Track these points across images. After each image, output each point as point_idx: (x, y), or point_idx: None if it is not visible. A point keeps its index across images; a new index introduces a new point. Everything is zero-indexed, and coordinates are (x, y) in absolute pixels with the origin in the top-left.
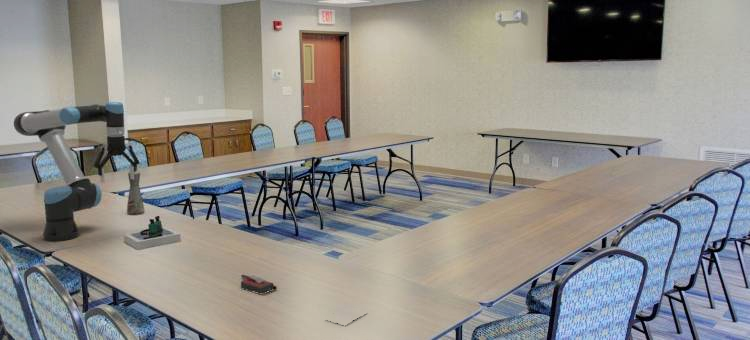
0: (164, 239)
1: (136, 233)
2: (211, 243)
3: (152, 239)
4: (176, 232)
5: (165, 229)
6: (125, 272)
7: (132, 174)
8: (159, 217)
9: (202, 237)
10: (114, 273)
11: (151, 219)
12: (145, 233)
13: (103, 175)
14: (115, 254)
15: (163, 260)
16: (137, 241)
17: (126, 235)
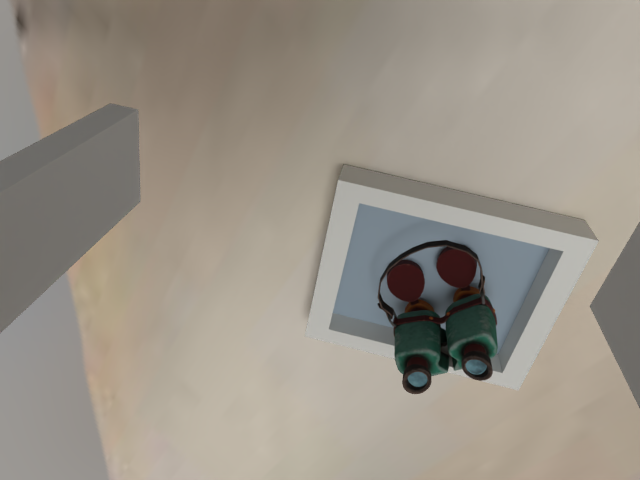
0: None
1: (402, 211)
2: (550, 469)
3: (376, 353)
4: (527, 364)
5: (547, 283)
6: (161, 442)
7: (623, 374)
8: (483, 376)
9: (613, 399)
10: (133, 426)
11: (406, 390)
12: (385, 310)
13: (56, 264)
14: (216, 292)
15: (299, 456)
16: (309, 331)
17: (335, 212)
